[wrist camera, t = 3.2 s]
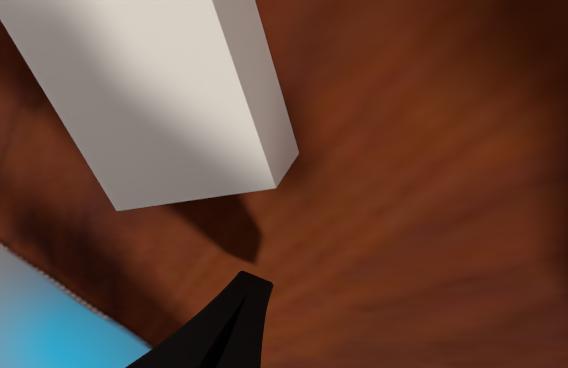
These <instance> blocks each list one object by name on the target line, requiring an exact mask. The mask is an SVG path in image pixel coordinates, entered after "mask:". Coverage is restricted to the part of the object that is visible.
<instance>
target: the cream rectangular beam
mask: <svg viewBox="0 0 568 368" xmlns="http://www.w3.org/2000/svg"><path fill="white" fill-rule="evenodd" d="M0 20H1V22H2V23H3V25H4V27H5V28H6V30H7V32H8V33H9V35H10V36H11V38H12V40H13V41H14V43H15V45H16V46H17V48H18V50H19V51H20V53H21V55H22V56H23V58H24V59H25V61H26V63H27V64H28V66H29V68H30V69H31V71H32V73H33V74H34V76H35V78H36V79H37V81H38V83H39V84H40V86H41V87H42V89H43V91H44V92H45V94H46V96H47V97H48V99H49V101H50V102H51V104H52V106H53V107H54V109H55V110H56V112H57V114H58V115H59V117H60V119H61V120H62V122H63V124H64V125H65V127H66V129H67V130H68V132H69V133H70V135H71V137H72V138H73V140H74V142H75V143H76V145H77V147H78V148H79V150H80V152H81V153H82V155H83V156H84V158H85V160H86V161H87V163H88V165H89V166H90V168H91V170H92V171H93V173H94V175H95V176H96V178H97V180H98V181H99V183H100V184H101V186H102V188H103V189H104V191H105V193H106V194H107V196H108V198H109V199H110V201H111V203H112V204H113V206H114V207H115V209H116V211H121V210H128V209H135V208H142V207H149V206H156V205H162V204H169V203H176V202H183V201H190V200H197V199H204V198H211V197H218V196H225V195H232V194H239V193H246V192H253V191H260V190H267V189H274V188H277V186H278V185H279V183H280V182H281V180H282V178H283V177H284V175H285V174H286V172H287V171H288V169H289V168H290V166H291V165H292V163H293V162H294V160H295V159H296V157H297V156H298V154H299V151H298V147H297V144H296V140H295V137H294V134H293V130H292V127H291V123H290V120H289V116H288V113H287V109H286V106H285V102H284V99H283V96H282V92H281V89H280V85H279V82H278V78H277V75H276V71H275V68H274V65H273V61H272V58H271V54H270V51H269V47H268V44H267V40H266V37H265V33H264V30H263V27H262V23H261V20H260V16H259V13H258V9H257V6H256V2H255V0H0Z"/></svg>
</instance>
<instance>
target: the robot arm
mask: <svg viewBox="0 0 568 368" xmlns="http://www.w3.org/2000/svg"><path fill="white" fill-rule="evenodd" d="M273 286H274V285H273V284H272V282H269V281H267V280H264V279H262V278H260V277H257V276H255V275H252V274H250V273H247V272H245V271H240V272H239V273H238V274H237V276H236V277H235V278H234V279H233V280H232V281H231V282H230V283H229V284H228V285H227V287H226V288H225V289H224V290H223V291H222V292H221V293H220V294H219V295H218V296H217V297H215V298H214V299H213V300H212V301H211V302H210V303H209V304H208V305H207V306H206V307H205V308H204V309H202V310H201V311H200V312H199V313H198V314H197V315H196V316H194V317H193V318H192V319H191V320H190V321H188V322H187V323H186V324H185V325H183V326H182V327H181V328H180V329H179V330H177V331H176V332H175V333H174V334H172V335H171V336H170V337H168V338H167V339H166V340H164V341H163V342H162V343H160V344H159V345H158V346H156V347H155V348H153V349H152V350H151V351H149V352H148V353H146V354H145V355H143V356H142V357H141V358H139V359H137V360H136V361H135V362H133V363H132V364H130V365H129V366H127V367H126V368H260V365H261V350H262V339H263V330H264V322H265V316H266V310H267V305H268V302H269V299H270V295H271V292H272V289H273Z"/></svg>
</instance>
